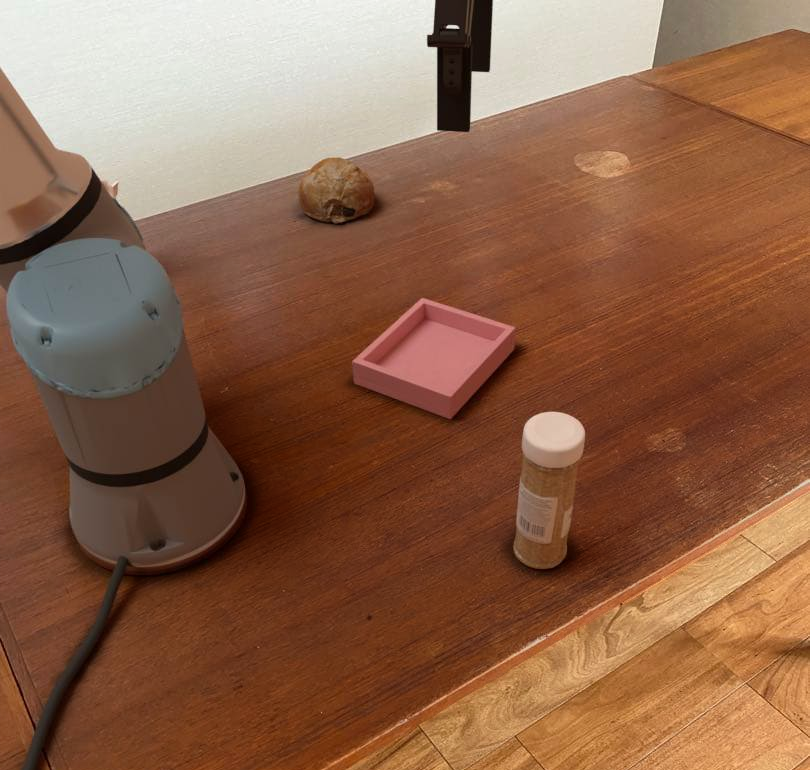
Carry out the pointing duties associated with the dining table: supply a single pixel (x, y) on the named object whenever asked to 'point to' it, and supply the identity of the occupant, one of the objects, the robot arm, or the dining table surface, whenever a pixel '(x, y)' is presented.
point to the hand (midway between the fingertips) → (465, 98)
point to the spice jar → (547, 488)
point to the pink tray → (434, 357)
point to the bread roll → (336, 191)
